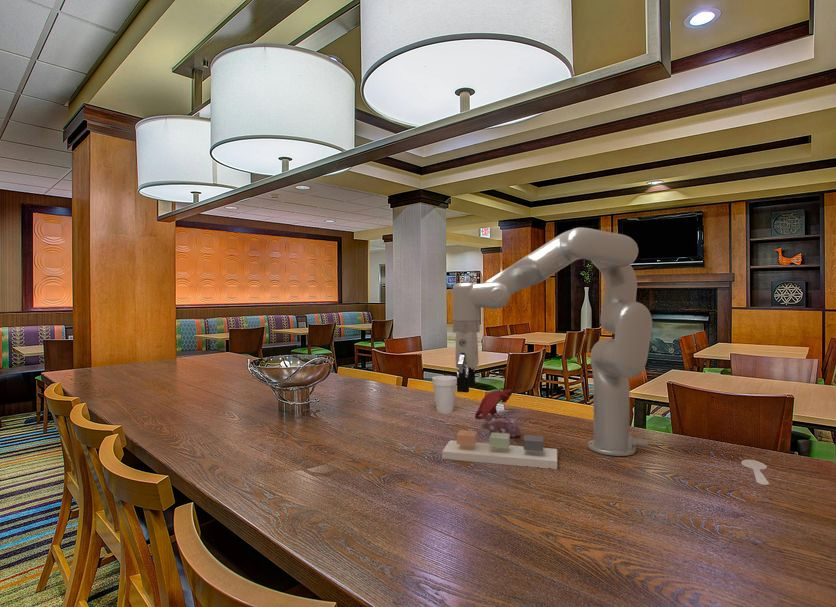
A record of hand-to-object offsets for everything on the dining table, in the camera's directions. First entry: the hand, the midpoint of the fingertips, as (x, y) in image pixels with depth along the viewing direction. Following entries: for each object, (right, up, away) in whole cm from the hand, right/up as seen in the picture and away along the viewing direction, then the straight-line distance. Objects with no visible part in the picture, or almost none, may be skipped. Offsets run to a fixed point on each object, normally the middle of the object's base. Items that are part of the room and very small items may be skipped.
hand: (466, 388), depth 129 cm
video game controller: (+14, -18, +17) cm, 29 cm away
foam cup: (-3, -18, +49) cm, 52 cm away
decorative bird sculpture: (+13, -18, +37) cm, 43 cm away
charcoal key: (+17, -15, -5) cm, 23 cm away
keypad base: (+9, -18, -3) cm, 20 cm away
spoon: (+71, -19, -14) cm, 75 cm away
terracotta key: (0, -15, 0) cm, 15 cm away
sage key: (+9, -15, -3) cm, 17 cm away
